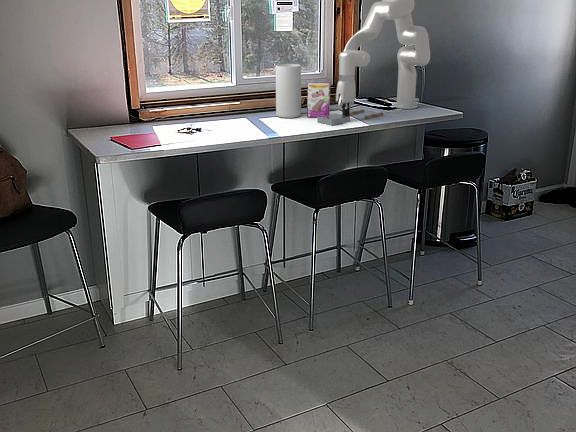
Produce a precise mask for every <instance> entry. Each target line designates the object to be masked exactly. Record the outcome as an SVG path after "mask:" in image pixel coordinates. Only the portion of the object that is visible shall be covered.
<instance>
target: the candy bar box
mask: <svg viewBox="0 0 576 432" xmlns="http://www.w3.org/2000/svg"><path fill="white" fill-rule="evenodd" d="M306 95H307V96H306V97H307V98H306V99H307V100H306V102H307V103H306V117H307V118H316V119H318V116H324V115H330V111H331V109H330V105H331V104H330V103H331V102H330V101H331V84H330V83H316V82H315V83H314V82H312V83H311V82H308V83H307V94H306Z"/></svg>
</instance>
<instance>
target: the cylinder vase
mask: <svg viewBox="0 0 576 432" xmlns="http://www.w3.org/2000/svg"><path fill="white" fill-rule="evenodd" d="M301 108H302V65H301V64H297V63H282V64H280V63H279V64H275V115H276V116H277V117H278V118H284V119H286V118H287V119H291V118H293V119H294V118H299V117H301V116H302V109H301Z"/></svg>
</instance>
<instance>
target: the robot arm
mask: <svg viewBox="0 0 576 432" xmlns="http://www.w3.org/2000/svg"><path fill="white" fill-rule="evenodd" d="M415 5H416V4H415V0H381V1H380V0H379V1H375V2H374V3H373V4H372V5H371V7H370V10H369V11H368V13H367V16H366V18H365V21H364V23H363V25H362V27H361V29H359V30H358V31H357V32H356V33H354V34H353V35H352V36H351V38H349V40H348V41H347V43H346V45H345V47H344V50H343V51H341V52H340V53H339V57H338V58H339V59H338V60H339V62H338V63H339V65H338V81H337V85H336V90H335V92H336V93H335V102H336V103H338V104H337V105H338V106H339V107H341V109H342V114H341V115H345V116H349V114H350V112H351V111H350V109H351V106H352V105H353V104H354V103H355V101H356V96H357V93H356V92H357V91H356V89H357V88H356V80H355V79H356V77H355V75H356V67H357V68H358V67H361V68H364V67H367V66H368V65H369V64H370V62H371V55H370V53H369V52H367V51H365V50H360V49H359V48H360V46H362V45H363V44H364V43H367V42H369V41H371V40H373V39H376V38H377V37H378V36H379V34H380V31H381V30H382V27H383V26H384V25H383V24H384V23H385V21H394V24H395V30H396V36H397V37H396V38H397V40H398V43H399V44H401V45H403V46H402V47H400V48H399V49H398V51H397V54H396V55H397V56H396V57H397V58H396V59H397V64H398V65H397V66H398V67H397V68H398V71H397V74H398V75H397V94H396V103H394V104H393V107H394V106H395V107H396V109H400V110H402V109H406V110H410V109H411V110H413V109H417V108H418V104H416V103H417V102H420V99H419V98H418V97H416V88H417V69H416V67H424V66H427V65H428V64H429V62H430V60H431V48H430V39H429V33H428V31H427V29H426V28H425V27H424V26H421V25H414V23H413V17H412V14H411V13H412V12H413V10H414V8H415ZM358 49H359V50H358ZM415 66H416V67H415ZM395 107H394V108H395Z"/></svg>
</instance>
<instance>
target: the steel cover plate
mask: <svg viewBox="0 0 576 432" xmlns="http://www.w3.org/2000/svg"><path fill="white" fill-rule="evenodd" d="M316 119H317V121H316V122H317V123H318V124H321V125H325V124H326V125H327V126H330V125H331V126H330V127H333V126H339V125H343V124H345V123H351V116H345V115H342V114H340V113H332V114H330V113H329V115H324V116H318V118H316Z"/></svg>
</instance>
